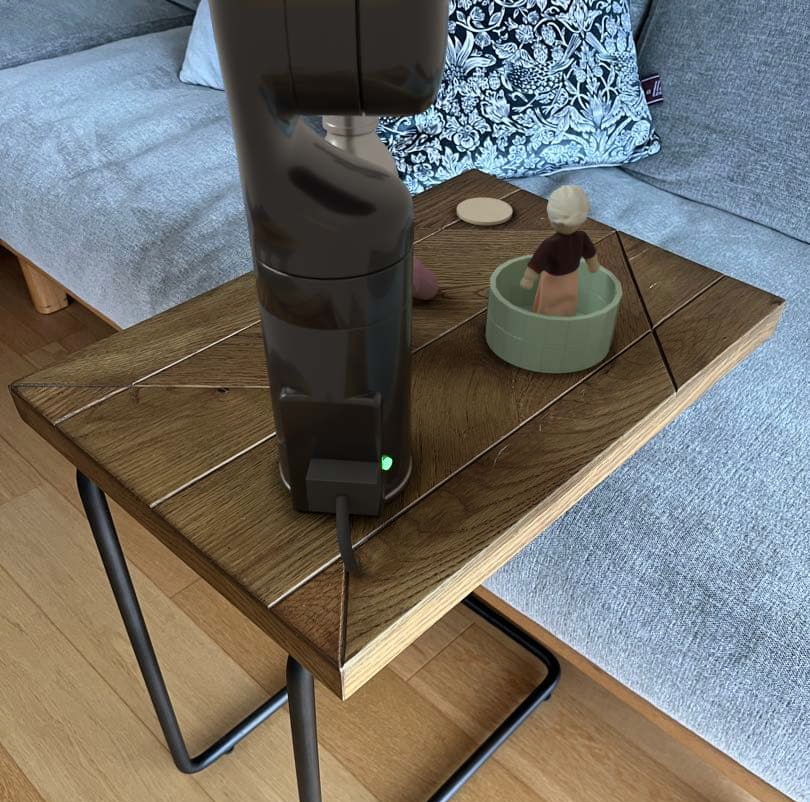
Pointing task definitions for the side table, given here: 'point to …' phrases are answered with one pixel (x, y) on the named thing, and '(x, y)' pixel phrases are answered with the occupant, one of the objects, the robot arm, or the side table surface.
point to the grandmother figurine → (561, 254)
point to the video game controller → (423, 281)
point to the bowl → (551, 321)
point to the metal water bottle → (359, 139)
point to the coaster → (484, 211)
